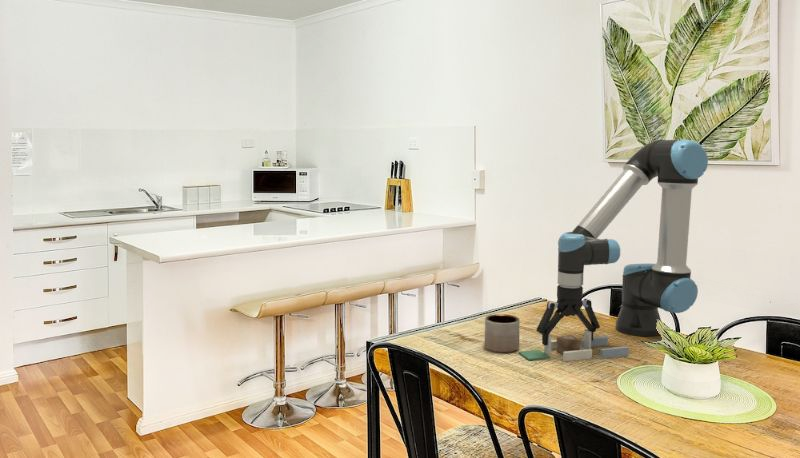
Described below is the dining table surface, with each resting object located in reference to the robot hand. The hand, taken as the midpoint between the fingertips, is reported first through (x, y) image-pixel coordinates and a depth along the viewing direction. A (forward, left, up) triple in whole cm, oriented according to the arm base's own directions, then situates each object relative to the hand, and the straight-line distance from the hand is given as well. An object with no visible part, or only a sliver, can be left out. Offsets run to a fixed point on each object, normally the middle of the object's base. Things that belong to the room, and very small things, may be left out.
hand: (567, 353), depth 201 cm
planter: (+17, -11, 0) cm, 20 cm away
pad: (+11, -1, 0) cm, 11 cm away
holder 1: (0, 0, 0) cm, 0 cm away
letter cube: (0, 0, 0) cm, 0 cm away
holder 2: (-12, +1, 0) cm, 12 cm away
